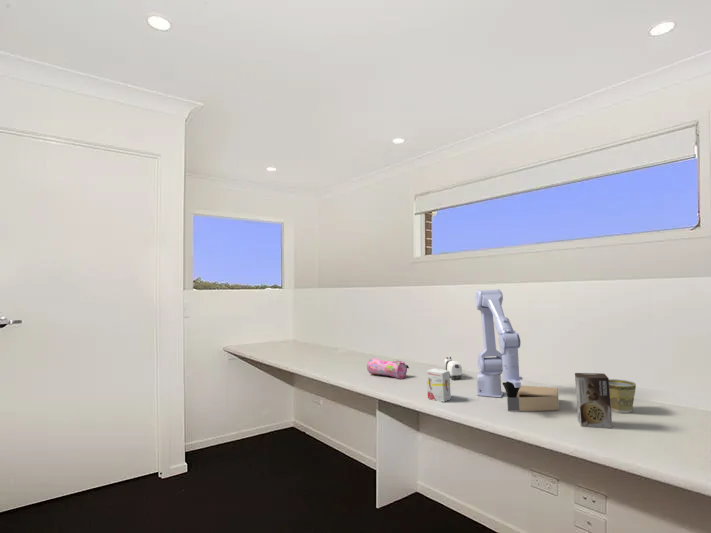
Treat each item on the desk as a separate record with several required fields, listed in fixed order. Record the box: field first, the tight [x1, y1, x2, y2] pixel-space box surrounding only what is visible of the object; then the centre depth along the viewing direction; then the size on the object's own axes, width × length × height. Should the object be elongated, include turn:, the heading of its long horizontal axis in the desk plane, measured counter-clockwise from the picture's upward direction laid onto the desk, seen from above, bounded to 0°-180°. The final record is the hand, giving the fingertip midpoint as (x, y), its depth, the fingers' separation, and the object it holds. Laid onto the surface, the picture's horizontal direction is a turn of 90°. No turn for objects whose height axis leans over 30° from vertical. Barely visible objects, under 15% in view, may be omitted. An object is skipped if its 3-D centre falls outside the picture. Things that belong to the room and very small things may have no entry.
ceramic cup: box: [609, 378, 637, 414], centre depth 150 cm, size 13×10×10 cm
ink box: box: [426, 367, 452, 403], centre depth 172 cm, size 9×5×12 cm, turn 41°
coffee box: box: [574, 372, 613, 429], centre depth 137 cm, size 9×6×16 cm
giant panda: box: [443, 356, 463, 381], centre depth 209 cm, size 15×6×10 cm, turn 9°
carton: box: [517, 384, 559, 398], centre depth 161 cm, size 14×12×5 cm
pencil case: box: [366, 357, 410, 380], centre depth 216 cm, size 21×9×9 cm, turn 50°
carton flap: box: [506, 396, 559, 412], centre depth 152 cm, size 18×1×5 cm, turn 88°
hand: (512, 402), depth 154 cm, fingers closed
